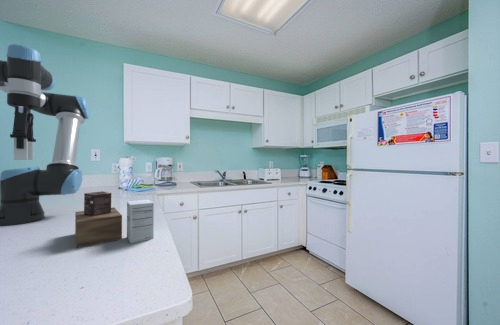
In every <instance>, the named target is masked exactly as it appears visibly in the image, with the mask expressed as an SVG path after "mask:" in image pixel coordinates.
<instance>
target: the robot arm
mask: <svg viewBox="0 0 500 325" xmlns="http://www.w3.org/2000/svg"><path fill="white" fill-rule="evenodd" d="M41 58H42V57H41V54H40V52H39V51H38V50H36V49H34V48H32V47H29V46H26V45H23V44H22V45H21V44H13V43H12V44H9V45H8V46H7V51H6V60H0V90H1V91H2V92H4V93H6V104H7V105H8V106H10V107H13V108H14V113H13V114H14V117H13V119H14V120H13V124H12V125H13V126H12V127H13V128H12V132H11V133H12V134H11V133H10V134H9V137H10V138H11V139H12V138H13V161H34V143H36V141H37V139H35V138H34V114H33V113H31V111H34V112H36V113H38V114H41V115H45V116H48V117H49V116H51V117H55V119H57V120H58V125H57V130H56V135H55V143H54V147H53V152H52V161H51V162H49V163H48V164H47V165H46V167H45V168H46V169H40V167H39V166H32V167H22V168H12V169H5V170H3V171H1V173H0V226H12V225H13V226H14V225H21V224H26V223H32V222H36V221H39V220H44V219H45V211H44V208H43V206H42V204H41V202H40V196H57V195H58V196H60V195H62V196H65V195H73V194H76V193H77V192H78V191H79V190H80V188H81V186H82V182H83V172H82V170H81V169H80V166H78V165H77V164H76V162H77V154H78V146H79V138H80V130H81V125H83V124H84V122H85V120H89V118H90V110H89V104H88V102H87V99H86V98H84V97H83V96H77V95H69V94H68V95H67V94H60V93H51V92H44V91H50V90H52V89H54V87H55V86H56V79H55V77H54V75H52V74H51V72H50V71H48V70H47V69H46V68H45V67H44V66H43V65H42V64H41V63H42V59H41Z"/></svg>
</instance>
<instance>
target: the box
mask: <svg viewBox="0 0 500 325" xmlns="http://www.w3.org/2000/svg"><path fill="white" fill-rule="evenodd" d="M83 195H84V199H83V200H84V202H83V204H84V205H83V211H84V214H86V215H89V216H97V215H102V214H107V213H111V208H112V192H108V191H95V192H84V194H83Z"/></svg>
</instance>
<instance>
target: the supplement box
mask: <svg viewBox="0 0 500 325" xmlns="http://www.w3.org/2000/svg"><path fill="white" fill-rule="evenodd" d="M154 205H155V203H154V202H153V201H152V200H150V199H139V200H129V201H128V200H127V201H126V237H127V238H128V240H129V243H130V244H133V243H139V242H144V241H149V240H153V239H154V234H155V233H154V222H155V220H154V219H155V218H154V216H155V215H154V214H155V213H154V211H155V209H154Z"/></svg>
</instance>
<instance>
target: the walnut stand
mask: <svg viewBox="0 0 500 325" xmlns="http://www.w3.org/2000/svg"><path fill="white" fill-rule="evenodd" d="M74 217H75V221H74V222H75V223H74V224H75V226H74V228H75V229H74V231H75V232H74V234H75V245H76V246H75V247H76V248H78V249H79V248H83V247H88V246H92V245H97V244H103V243H108V242H112V241H118V240H122V239H123V234H122V233H123V215H122V213H120V212H119V211H118V210H117V209H116V207H111V213H107V214H102V215H97V216H89V215H86V214H84V210H81V211H75V216H74Z"/></svg>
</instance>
